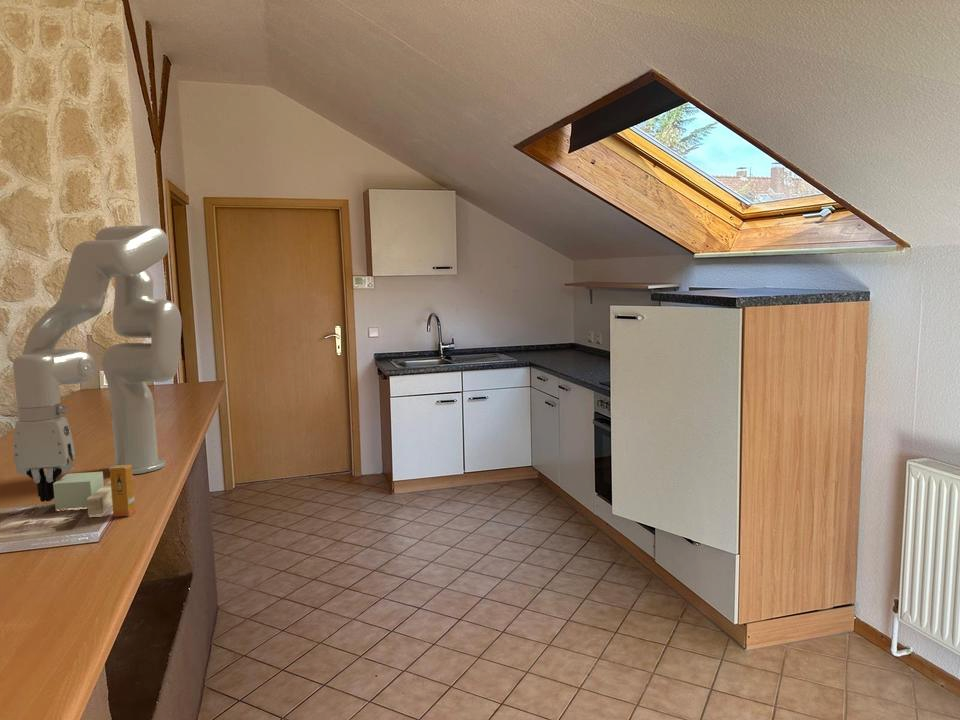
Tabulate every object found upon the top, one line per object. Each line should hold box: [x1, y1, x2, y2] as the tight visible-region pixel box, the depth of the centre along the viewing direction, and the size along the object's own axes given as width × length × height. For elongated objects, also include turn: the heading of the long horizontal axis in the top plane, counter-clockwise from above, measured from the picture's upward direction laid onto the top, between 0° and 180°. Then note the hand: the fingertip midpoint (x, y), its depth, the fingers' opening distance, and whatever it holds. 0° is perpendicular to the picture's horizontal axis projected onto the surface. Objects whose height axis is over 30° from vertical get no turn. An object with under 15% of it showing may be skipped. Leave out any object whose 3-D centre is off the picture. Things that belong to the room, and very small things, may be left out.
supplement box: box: [109, 465, 137, 518], centre depth 136 cm, size 3×3×10 cm
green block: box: [53, 471, 105, 510], centre depth 142 cm, size 7×7×6 cm
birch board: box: [87, 479, 112, 515], centre depth 143 cm, size 18×2×4 cm, turn 9°
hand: (48, 499), depth 141 cm, fingers closed
